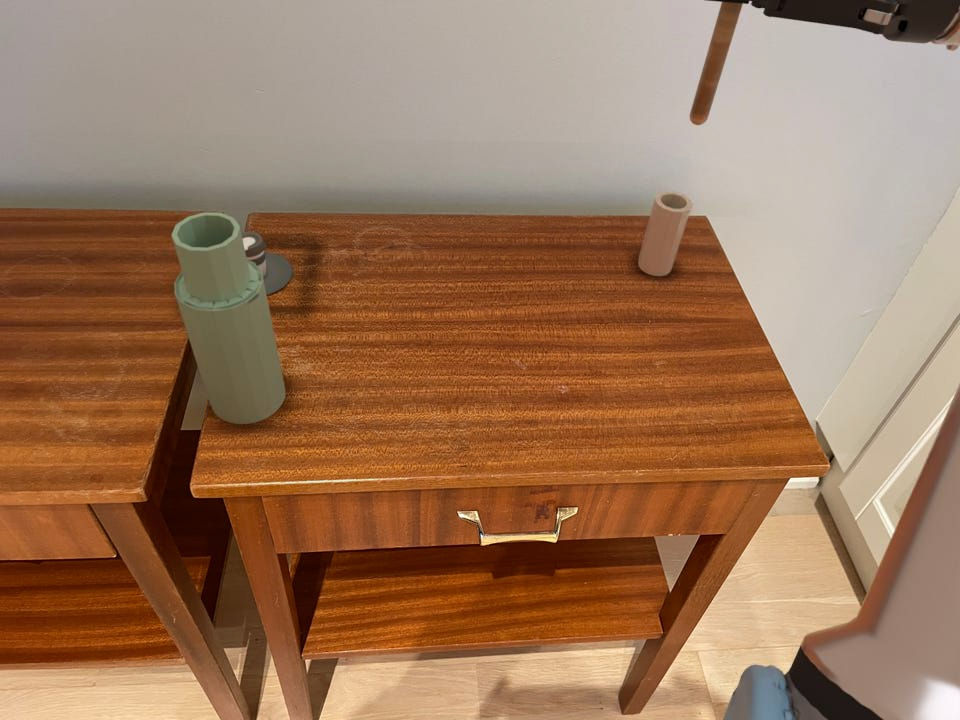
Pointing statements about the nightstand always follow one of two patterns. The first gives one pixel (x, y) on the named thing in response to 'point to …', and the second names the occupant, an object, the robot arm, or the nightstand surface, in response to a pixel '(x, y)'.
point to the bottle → (227, 319)
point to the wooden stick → (715, 61)
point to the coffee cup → (267, 262)
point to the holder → (664, 232)
